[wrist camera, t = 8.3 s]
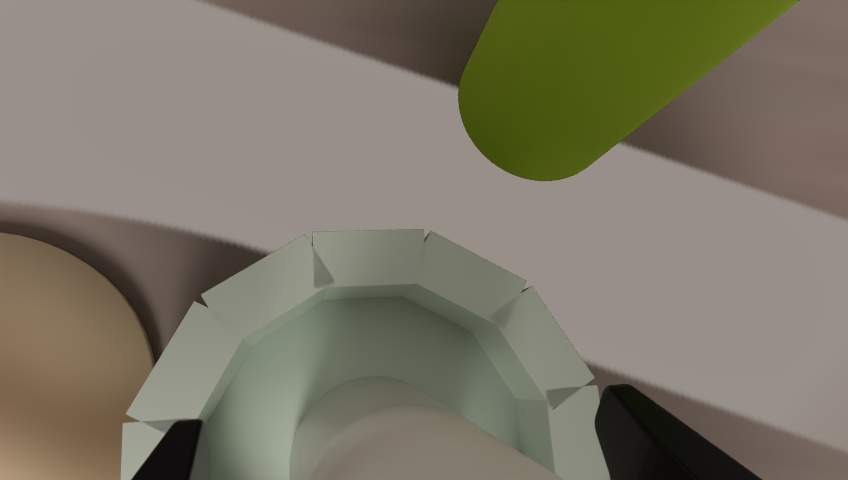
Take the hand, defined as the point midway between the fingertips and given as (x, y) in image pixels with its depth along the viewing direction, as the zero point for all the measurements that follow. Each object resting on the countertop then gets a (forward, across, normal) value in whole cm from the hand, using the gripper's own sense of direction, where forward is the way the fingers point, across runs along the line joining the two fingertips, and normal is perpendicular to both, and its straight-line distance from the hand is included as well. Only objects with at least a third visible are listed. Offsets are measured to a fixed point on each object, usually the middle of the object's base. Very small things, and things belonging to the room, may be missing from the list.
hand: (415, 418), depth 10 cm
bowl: (+5, 0, +7) cm, 9 cm away
